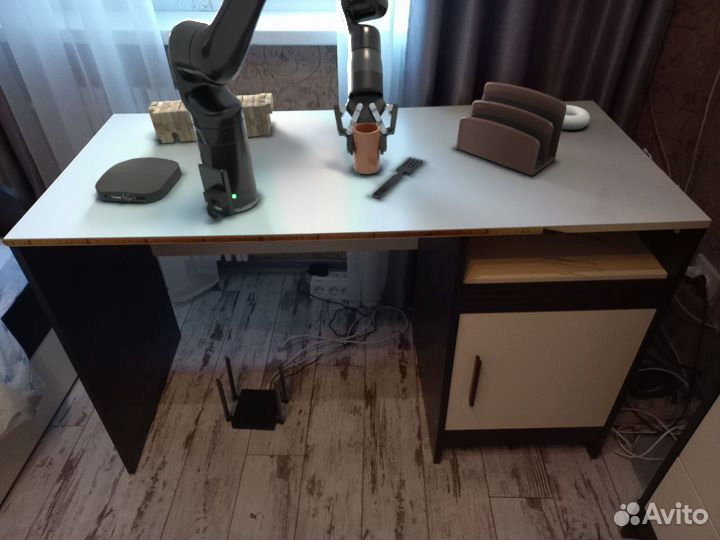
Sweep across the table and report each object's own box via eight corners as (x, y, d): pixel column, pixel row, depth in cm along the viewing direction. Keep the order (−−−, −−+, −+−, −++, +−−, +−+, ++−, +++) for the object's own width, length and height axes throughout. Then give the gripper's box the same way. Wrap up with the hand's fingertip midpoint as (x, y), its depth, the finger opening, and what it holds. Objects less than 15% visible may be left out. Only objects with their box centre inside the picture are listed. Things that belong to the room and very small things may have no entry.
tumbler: (371, 176, 107) (371, 135, 101) (349, 170, 109) (347, 130, 104) (384, 165, 111) (384, 125, 105) (362, 159, 113) (361, 120, 107)
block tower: (156, 147, 123) (276, 135, 125) (145, 114, 118) (270, 102, 119) (162, 133, 129) (276, 122, 131) (152, 101, 124) (271, 89, 125)
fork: (383, 200, 101) (383, 197, 100) (368, 195, 102) (368, 193, 102) (423, 162, 112) (423, 160, 112) (409, 159, 114) (409, 156, 113)
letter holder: (479, 135, 123) (487, 76, 114) (555, 160, 112) (571, 98, 103) (455, 149, 117) (461, 88, 108) (532, 177, 106) (546, 112, 97)
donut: (596, 126, 125) (565, 112, 132) (600, 113, 123) (568, 99, 130) (568, 136, 121) (537, 121, 128) (571, 122, 119) (540, 107, 126)
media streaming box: (187, 169, 112) (184, 157, 110) (159, 205, 101) (155, 192, 99) (125, 167, 114) (121, 154, 112) (91, 201, 103) (86, 188, 101)
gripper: (330, 69, 104) (331, 149, 102) (400, 67, 104) (402, 147, 102) (332, 85, 111) (333, 160, 110) (397, 83, 111) (400, 158, 110)
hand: (367, 153), depth 106 cm, fingers closed on tumbler, 5 cm apart
